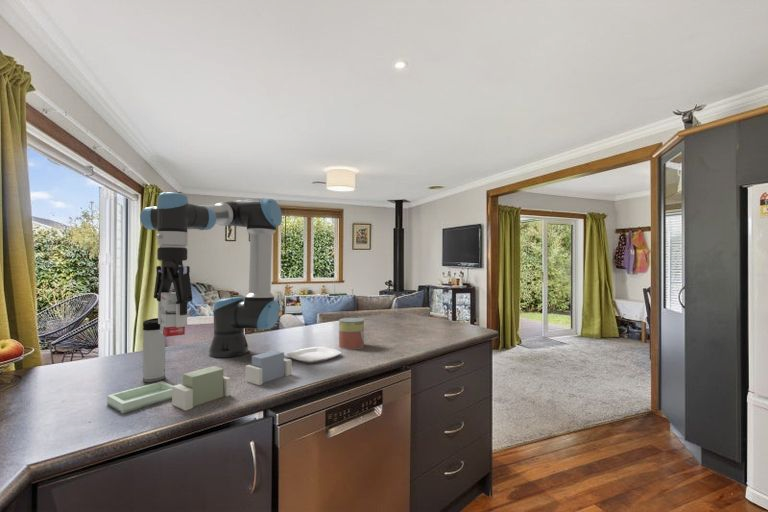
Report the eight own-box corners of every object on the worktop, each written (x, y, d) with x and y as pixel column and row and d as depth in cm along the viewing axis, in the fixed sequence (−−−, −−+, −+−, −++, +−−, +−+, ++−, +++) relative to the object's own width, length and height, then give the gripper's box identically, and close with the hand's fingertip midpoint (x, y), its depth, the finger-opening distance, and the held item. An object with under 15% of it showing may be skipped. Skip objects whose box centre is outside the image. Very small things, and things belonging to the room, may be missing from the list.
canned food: (363, 349, 159) (363, 321, 159) (337, 349, 159) (337, 321, 159) (364, 343, 170) (364, 317, 170) (340, 343, 170) (340, 317, 170)
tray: (107, 404, 100) (107, 395, 100) (162, 389, 111) (162, 381, 111) (122, 413, 94) (122, 403, 94) (178, 396, 106) (178, 387, 106)
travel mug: (170, 377, 123) (170, 317, 123) (152, 383, 117) (152, 320, 117) (156, 375, 125) (156, 316, 125) (138, 381, 119) (138, 319, 119)
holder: (172, 404, 100) (172, 386, 100) (278, 370, 129) (278, 356, 129) (185, 410, 96) (185, 391, 96) (291, 374, 125) (291, 359, 125)
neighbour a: (182, 402, 101) (182, 373, 101) (213, 392, 109) (213, 366, 109) (192, 407, 98) (192, 377, 98) (223, 396, 106) (223, 368, 106)
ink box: (185, 334, 104) (185, 293, 104) (165, 337, 100) (165, 294, 101) (178, 330, 110) (178, 291, 110) (159, 332, 107) (159, 292, 107)
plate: (348, 357, 148) (348, 352, 148) (308, 368, 134) (308, 362, 134) (319, 349, 161) (319, 344, 161) (280, 358, 147) (280, 353, 147)
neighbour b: (251, 380, 119) (251, 356, 119) (274, 373, 127) (274, 350, 127) (261, 383, 116) (261, 358, 116) (283, 376, 124) (283, 352, 124)
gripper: (140, 247, 108) (139, 323, 108) (179, 245, 96) (179, 331, 96) (166, 247, 115) (166, 319, 114) (206, 246, 103) (206, 326, 102)
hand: (172, 324), depth 105 cm, fingers closed on ink box, 9 cm apart
